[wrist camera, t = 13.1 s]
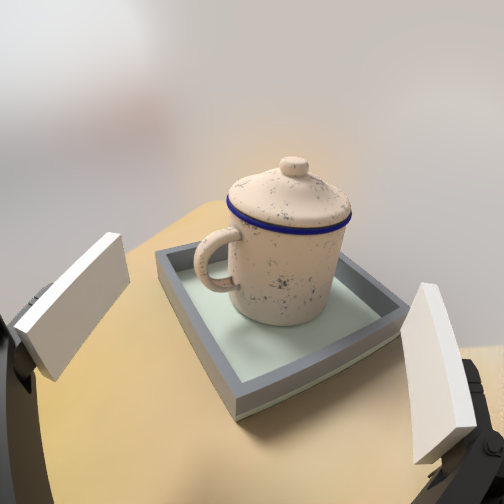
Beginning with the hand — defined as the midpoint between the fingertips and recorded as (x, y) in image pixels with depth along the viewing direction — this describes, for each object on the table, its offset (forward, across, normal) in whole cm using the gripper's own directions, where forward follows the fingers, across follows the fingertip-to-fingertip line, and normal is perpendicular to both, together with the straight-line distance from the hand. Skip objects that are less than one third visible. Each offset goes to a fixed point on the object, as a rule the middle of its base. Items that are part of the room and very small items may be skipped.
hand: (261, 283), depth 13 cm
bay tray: (+10, 0, -10) cm, 14 cm away
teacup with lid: (+10, -1, -10) cm, 14 cm away
